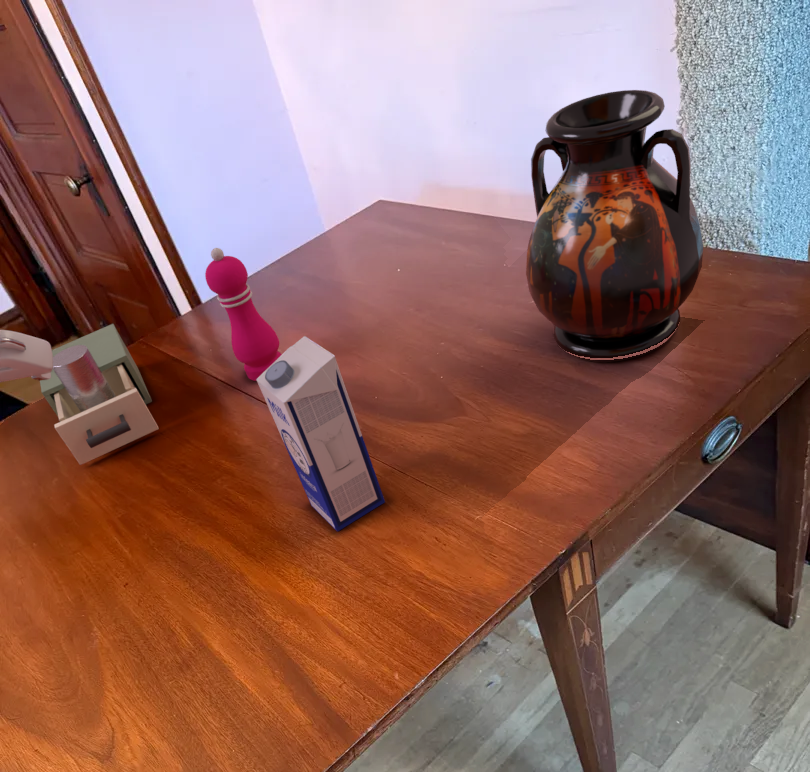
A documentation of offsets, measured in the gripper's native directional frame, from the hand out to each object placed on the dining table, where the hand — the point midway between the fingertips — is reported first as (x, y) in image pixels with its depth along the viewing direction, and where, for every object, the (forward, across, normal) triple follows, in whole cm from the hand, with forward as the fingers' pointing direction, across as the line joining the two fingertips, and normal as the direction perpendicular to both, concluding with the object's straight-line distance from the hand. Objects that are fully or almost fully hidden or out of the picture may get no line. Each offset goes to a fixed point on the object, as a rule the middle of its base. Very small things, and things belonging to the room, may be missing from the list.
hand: (14, 379), depth 95 cm
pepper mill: (+29, -22, -4) cm, 37 cm away
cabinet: (+28, +6, -4) cm, 29 cm away
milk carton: (+4, -41, +21) cm, 46 cm away
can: (+20, 0, +3) cm, 20 cm away
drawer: (+20, -1, +4) cm, 20 cm away
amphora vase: (+25, -75, +1) cm, 79 cm away
